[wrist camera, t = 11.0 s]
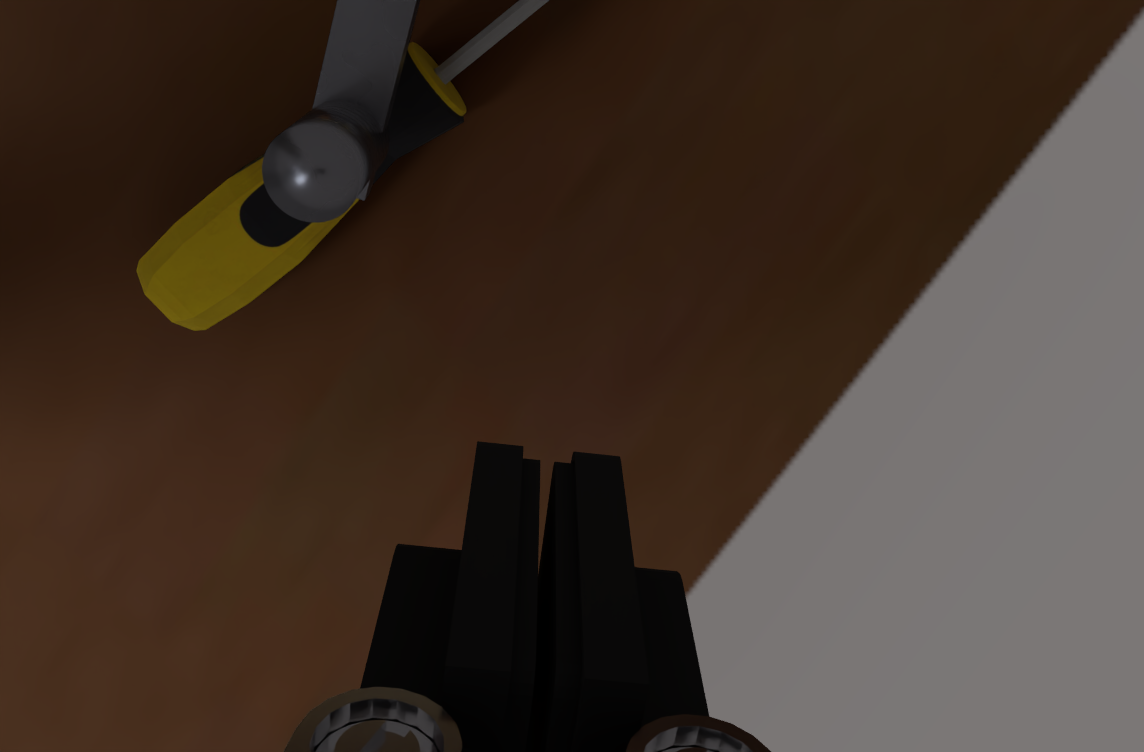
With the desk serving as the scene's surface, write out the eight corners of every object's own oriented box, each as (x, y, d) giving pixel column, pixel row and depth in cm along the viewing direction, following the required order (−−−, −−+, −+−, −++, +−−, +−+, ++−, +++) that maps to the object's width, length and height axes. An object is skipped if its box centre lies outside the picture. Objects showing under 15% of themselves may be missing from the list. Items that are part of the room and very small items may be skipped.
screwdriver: (186, 355, 34) (984, -279, 28) (109, 277, 33) (922, -402, 27) (216, 319, 38) (940, -257, 31) (147, 247, 36) (882, -366, 30)
